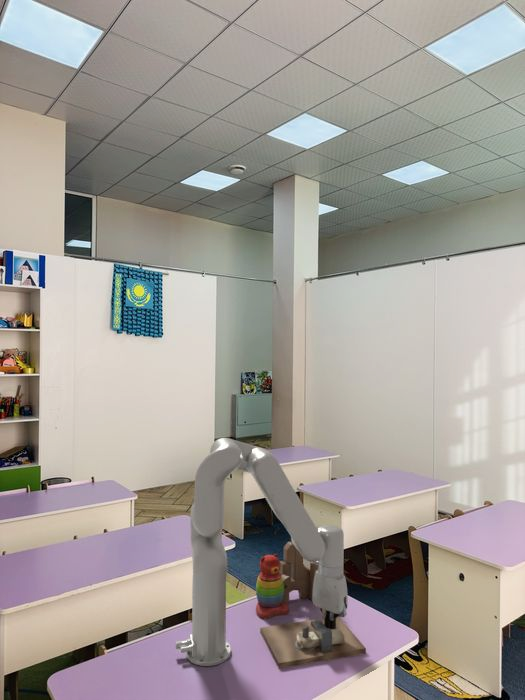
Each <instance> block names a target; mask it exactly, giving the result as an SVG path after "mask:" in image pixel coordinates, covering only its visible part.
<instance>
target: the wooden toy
mask: <svg viewBox="0 0 525 700" xmlns="http://www.w3.org/2000/svg"><path fill="white" fill-rule="evenodd" d="M282 557H283V560H279V561H280V570H279V573H280V574H281V577H282V581H283V585H284V594H283V600H282V601H283V602H284V603H285V604H286V605H287V606H288V607H289V606H290V593H291V592H293V591H298V593H297V594H298V596H300V597H301V598H304V599H305V598H309V599H310V600H311V601H312V592H313V582H314V577H315V573H316V571H317V570H318V566H317V565H315V562H309V567H308V566H305V564H304V558H303V557H302V556H301V554H300V553H299V551H298V550H297V549H296V547H295V546H294V545H293V543H292V540H291V541H288V542H287V543H286V544H285V545H284V546H283V556H282Z"/></svg>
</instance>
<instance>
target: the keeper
mask: <svg viewBox="0 0 525 700" xmlns="http://www.w3.org/2000/svg"><path fill="white" fill-rule="evenodd" d="M314 620H315V619H314ZM311 626H312V627H313V629H314V630H315V632H316V633H317V634H318V636H319V650H320V651H321V653H328V652H332V631H331V630H330V629H329V628H328V629H327V628H326V626H325V625H324V624H323V622H322V621H321V620H315V621H311Z"/></svg>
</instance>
